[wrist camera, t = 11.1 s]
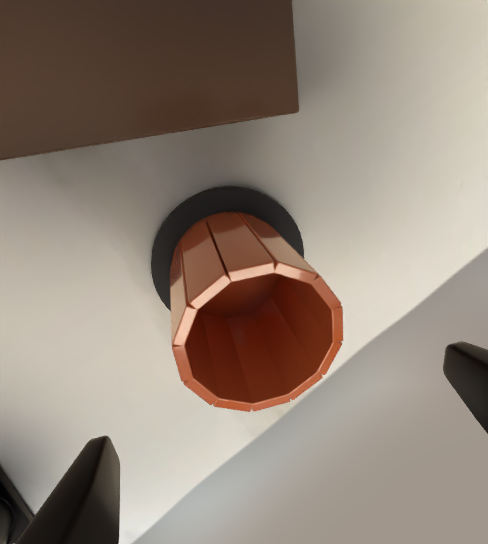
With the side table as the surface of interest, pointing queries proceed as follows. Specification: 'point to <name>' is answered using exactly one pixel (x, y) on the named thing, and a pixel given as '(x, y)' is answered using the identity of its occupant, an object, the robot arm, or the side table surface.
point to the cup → (249, 314)
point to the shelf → (139, 69)
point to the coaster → (209, 205)
